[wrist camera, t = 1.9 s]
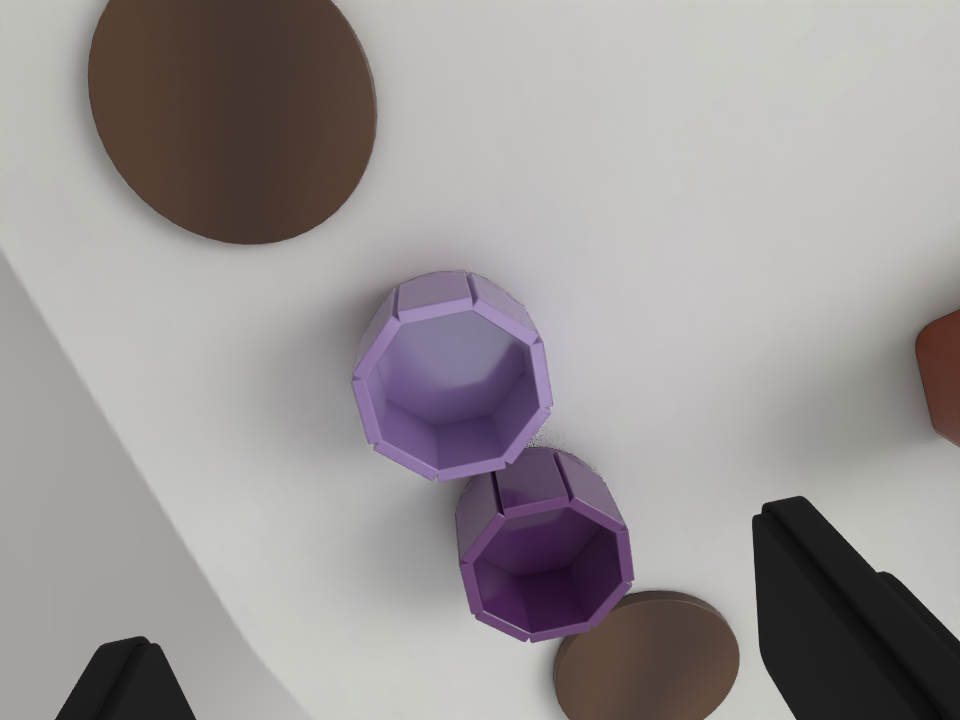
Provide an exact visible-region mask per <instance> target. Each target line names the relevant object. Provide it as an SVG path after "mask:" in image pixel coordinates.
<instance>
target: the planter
mask: <svg viewBox="0 0 960 720" xmlns="http://www.w3.org/2000/svg"><path fill="white" fill-rule="evenodd" d="M916 355H917V360H918V364H919V368H920V373H921V377H922V381H923V385H924V390H925V394H926V398H927V403H928V407H929V411H930V416H931V420H932V424H933V427H934V429H935V431H936V433H938V434H939V435H941V436H942V437H944V438H945V439H947V440H948V441H950V442H951V443H953V444H955V445H956V446H958V447H959V448H960V310H958V311H956V312H953V313H951V314H949V315H947V316H945V317H942V318H940V319H938V320H936V321H934V322H932V323H931V324H929V325H928V326H926V327H925V329H924V330H923V331H922V332H921V333H920V335H919V337H918V340H917V342H916Z"/></svg>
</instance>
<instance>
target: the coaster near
mask: <svg viewBox="0 0 960 720" xmlns="http://www.w3.org/2000/svg"><path fill="white" fill-rule="evenodd" d="M88 87H89V98H90V104H91V109H92V114H93V118H94V121H95V124H96V127H97V130H98V134H99V136H100V138H101V140H102V143H103V145H104V147H105V149H106V152H107V153H108V155H109V157H110V158H111V160H112V162H113V164H114V165H115V167H116V169H117V170H118V171H119V173H120V174H121V175H122V177H123V178H124V179H125V181H126V182H127V183H128V185H129V186H130V187H131V188H132V189H133V190H134V191H135V192H136V193H137V194H138V195H139V196H140V197H141V199H142V200H144V201H145V202H146V203H147V204H148V205H149V206H151V207H152V208H153V209H154V210H155V211H157V212H158V213H159V214H161V215H162V216H164V217H165V218H167V219H168V220H170V221H171V222H173V223H175V224H176V225H178V226H180V227H182V228H184V229H186V230H188V231H190V232H193V233H195V234H198V235H201V236H203V237H206V238H209V239H213V240H218V241H222V242H226V243H235V244H266V243H274V242H279V241H283V240H286V239H290V238H293V237H296V236H298V235H300V234H303V233H305V232H307V231H309V230H311V229H313V228H314V227H316V226H318V225H319V224H321V223H323V222H324V221H325V220H327V219H328V218H329V217H330V216H331V215H333V214H334V213H335V212H336V211H337V210H338V209H339V208H340V207H341V206H342V205H343V204H344V203H345V202H346V201H347V199H348V198H349V197H350V195H351V194H352V192H353V191H354V190H355V188H356V187H357V185H358V184H359V182H360V180H361V178H362V176H363V174H364V172H365V170H366V168H367V165H368V162H369V159H370V157H371V154H372V150H373V145H374V141H375V136H376V125H377V100H376V93H375V86H374V80H373V76H372V73H371V70H370V66H369V63H368V60H367V57H366V55H365V53H364V50H363V48H362V46H361V43H360V41H359V39H358V38H357V36H356V34H355V32H354V31H353V29H352V27H351V25H350V24H349V22H348V21H347V20H346V18H345V17H344V16H343V14H342V13H341V12H340V10H339V9H338V8H337V6H336V5H335V4H334V3H333V2H332V1H331V0H110V1H109V3H108V5H107V6H106V8H105V10H104V12H103V14H102V15H101V17H100V20H99V22H98V25H97V28H96V30H95V33H94V36H93V40H92V45H91V50H90V54H89V66H88Z"/></svg>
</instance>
